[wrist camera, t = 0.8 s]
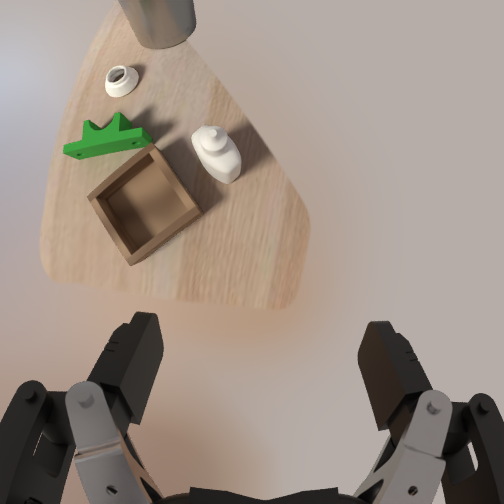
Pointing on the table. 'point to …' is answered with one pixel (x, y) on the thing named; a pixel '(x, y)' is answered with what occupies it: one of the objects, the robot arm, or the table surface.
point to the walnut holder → (143, 204)
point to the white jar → (121, 81)
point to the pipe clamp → (107, 139)
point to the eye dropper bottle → (217, 153)
